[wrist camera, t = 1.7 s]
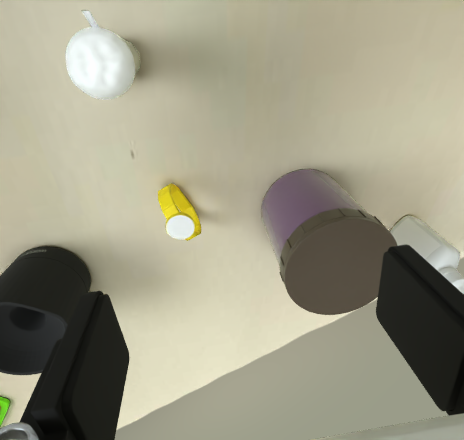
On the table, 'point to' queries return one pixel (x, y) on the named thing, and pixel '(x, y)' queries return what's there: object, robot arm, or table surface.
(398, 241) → the eye dropper bottle
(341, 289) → the jar lid
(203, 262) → the table surface
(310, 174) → the jar
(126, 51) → the milkshake
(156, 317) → the table surface
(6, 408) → the dollhouse room
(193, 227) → the watch
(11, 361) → the pen holder
